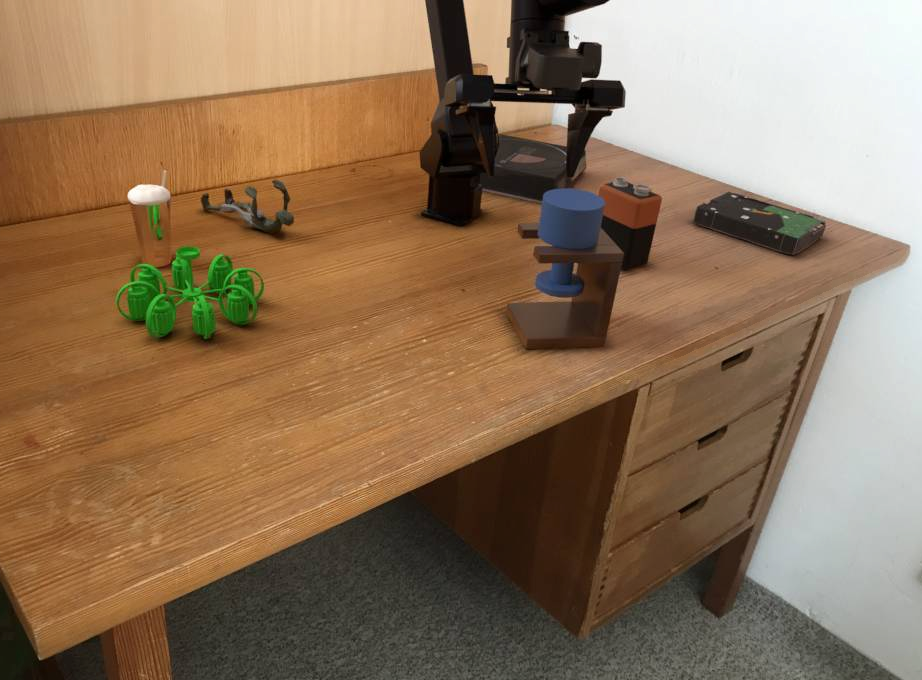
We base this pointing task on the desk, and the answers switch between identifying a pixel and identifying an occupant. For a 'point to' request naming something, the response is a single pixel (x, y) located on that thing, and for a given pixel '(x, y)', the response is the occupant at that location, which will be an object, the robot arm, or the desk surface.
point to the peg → (568, 235)
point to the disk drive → (760, 222)
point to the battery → (630, 219)
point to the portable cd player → (529, 169)
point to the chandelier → (190, 294)
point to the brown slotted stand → (585, 312)
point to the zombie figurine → (254, 209)
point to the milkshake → (152, 222)
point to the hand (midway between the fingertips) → (530, 177)
